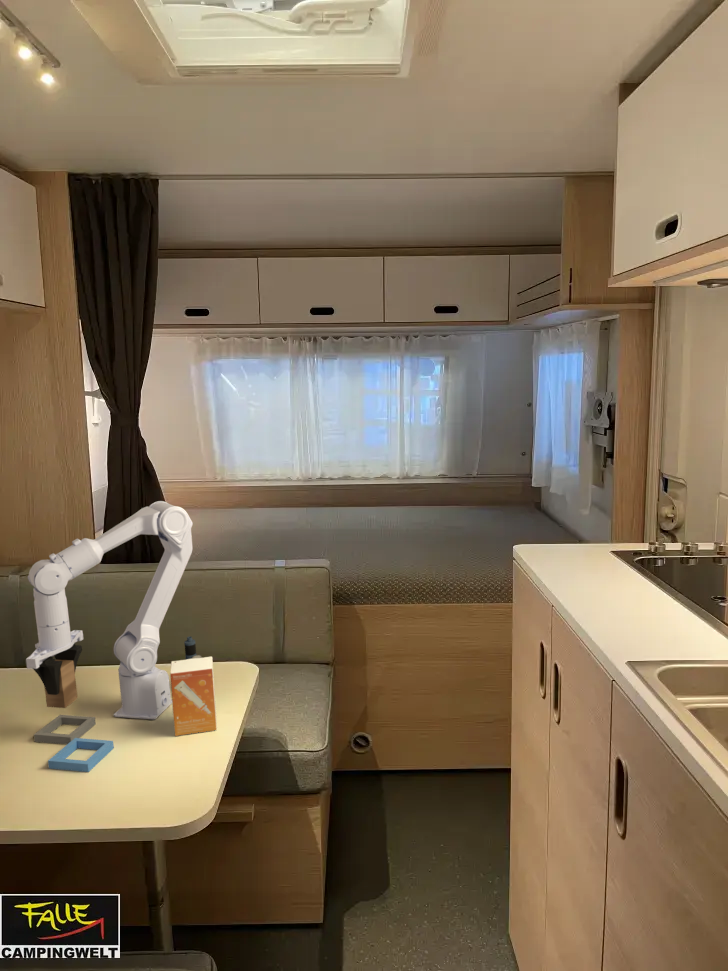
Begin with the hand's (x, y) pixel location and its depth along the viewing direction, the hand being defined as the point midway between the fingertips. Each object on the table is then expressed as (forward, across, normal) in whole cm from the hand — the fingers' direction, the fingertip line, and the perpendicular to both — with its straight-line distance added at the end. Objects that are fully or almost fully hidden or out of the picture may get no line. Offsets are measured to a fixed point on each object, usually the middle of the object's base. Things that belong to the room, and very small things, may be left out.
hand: (60, 688), depth 136 cm
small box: (+10, -6, +25) cm, 27 cm away
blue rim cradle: (+9, +8, +9) cm, 15 cm away
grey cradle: (+9, 0, 0) cm, 9 cm away
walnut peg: (+3, 0, 0) cm, 3 cm away
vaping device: (+10, -21, +18) cm, 29 cm away
